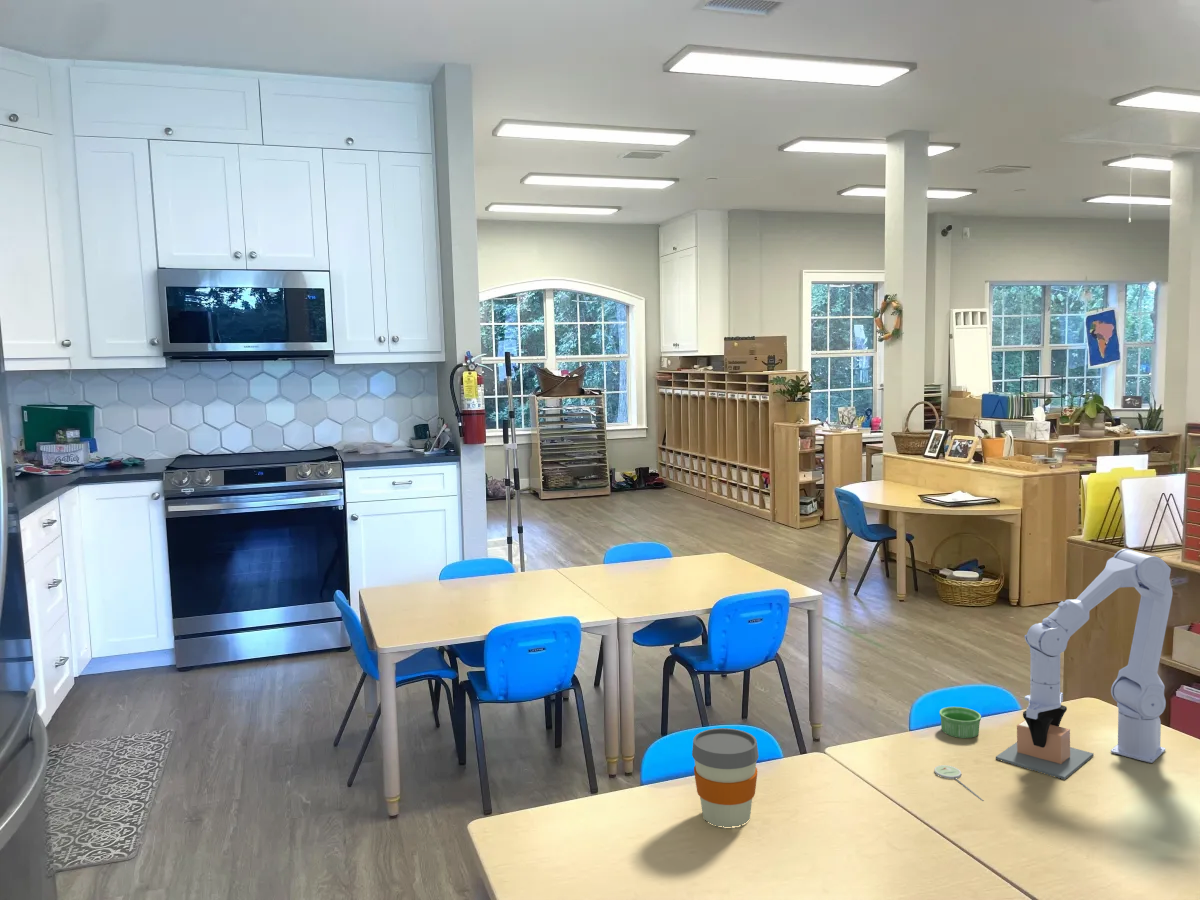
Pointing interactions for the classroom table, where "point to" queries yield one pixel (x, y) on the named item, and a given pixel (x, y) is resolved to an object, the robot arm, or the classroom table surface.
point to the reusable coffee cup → (725, 774)
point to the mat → (1046, 761)
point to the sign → (951, 774)
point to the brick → (1055, 743)
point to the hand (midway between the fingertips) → (1044, 741)
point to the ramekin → (960, 722)
